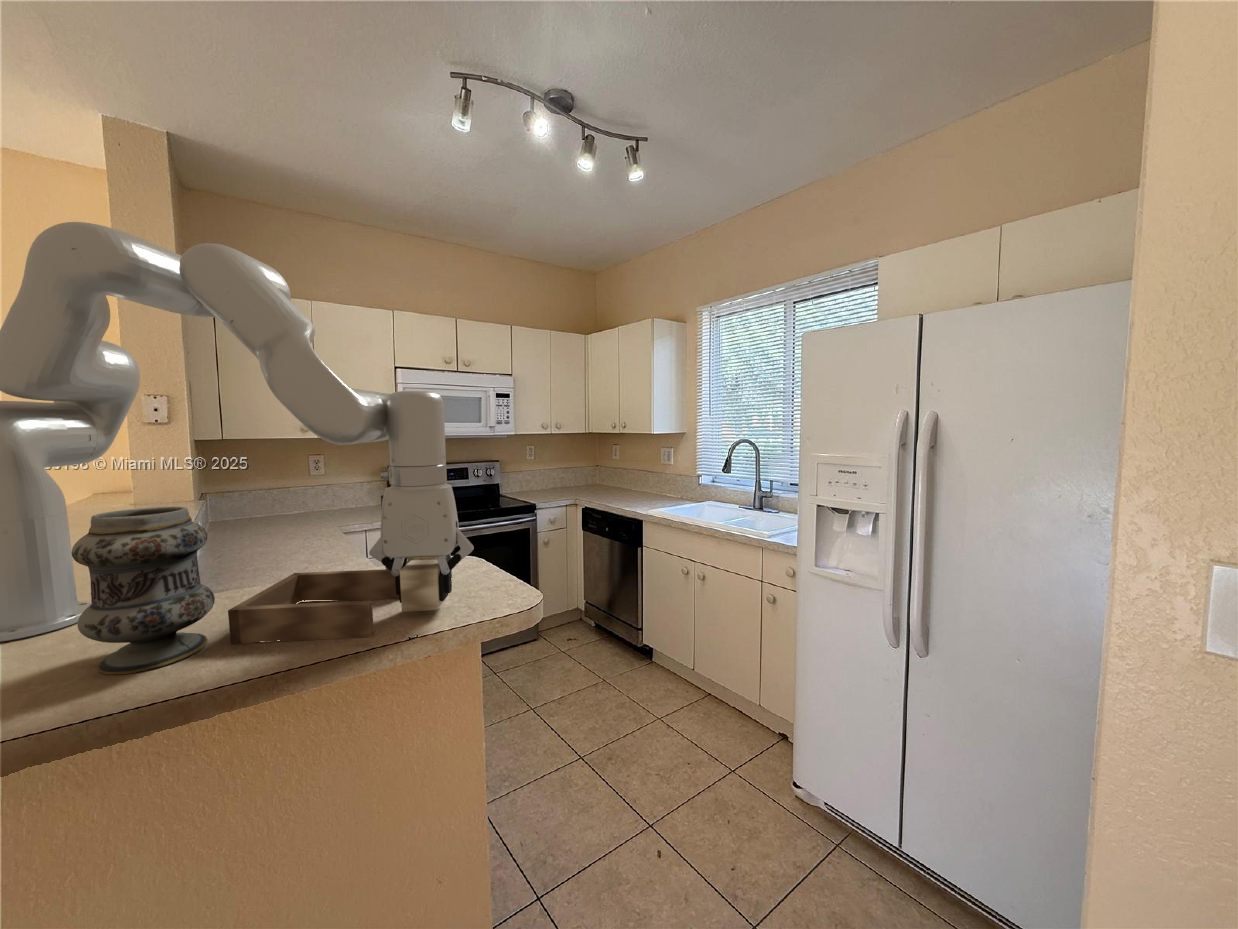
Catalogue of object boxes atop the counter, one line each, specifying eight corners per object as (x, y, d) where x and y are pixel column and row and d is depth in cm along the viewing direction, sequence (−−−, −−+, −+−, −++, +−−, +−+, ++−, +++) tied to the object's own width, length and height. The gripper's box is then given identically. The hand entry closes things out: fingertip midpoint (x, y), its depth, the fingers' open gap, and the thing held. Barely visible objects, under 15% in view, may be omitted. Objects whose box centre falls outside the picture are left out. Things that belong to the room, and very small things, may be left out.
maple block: (401, 611, 70) (399, 570, 70) (412, 598, 75) (410, 560, 75) (437, 609, 71) (436, 569, 70) (446, 597, 76) (444, 559, 75)
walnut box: (230, 644, 63) (227, 610, 63) (296, 600, 78) (294, 573, 78) (370, 637, 65) (368, 604, 64) (408, 595, 80) (406, 568, 80)
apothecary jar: (216, 625, 69) (204, 499, 67) (220, 656, 60) (207, 511, 58) (91, 653, 61) (74, 510, 59) (74, 693, 52) (55, 526, 50)
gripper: (346, 481, 67) (353, 611, 68) (474, 479, 68) (478, 605, 70) (368, 475, 74) (374, 592, 76) (483, 473, 76) (487, 587, 77)
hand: (424, 597), depth 73 cm, fingers closed on maple block, 4 cm apart
